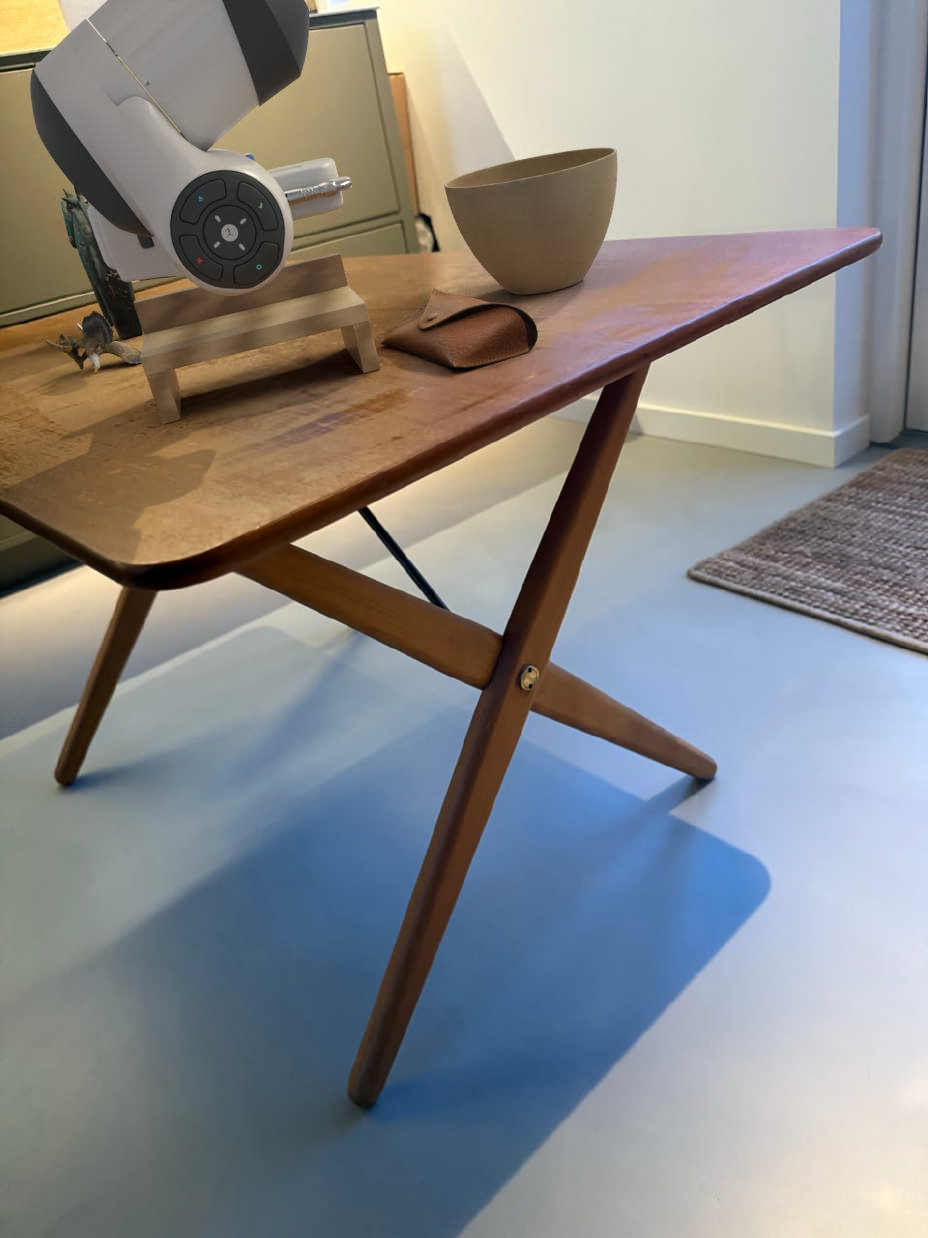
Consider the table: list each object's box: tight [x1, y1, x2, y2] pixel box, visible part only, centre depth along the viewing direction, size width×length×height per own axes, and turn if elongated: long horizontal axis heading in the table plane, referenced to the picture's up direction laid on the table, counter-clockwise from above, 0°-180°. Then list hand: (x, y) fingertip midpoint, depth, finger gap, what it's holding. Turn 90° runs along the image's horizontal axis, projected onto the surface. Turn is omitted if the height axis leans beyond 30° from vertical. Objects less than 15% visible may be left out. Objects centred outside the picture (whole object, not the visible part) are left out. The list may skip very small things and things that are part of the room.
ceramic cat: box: [60, 186, 144, 340], centre depth 132 cm, size 20×6×20 cm, turn 23°
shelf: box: [134, 252, 381, 425], centre depth 92 cm, size 20×12×9 cm, turn 104°
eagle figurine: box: [44, 310, 142, 374], centre depth 114 cm, size 8×7×9 cm
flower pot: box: [443, 147, 618, 296], centre depth 106 cm, size 18×18×12 cm
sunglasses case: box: [379, 288, 539, 369], centre depth 92 cm, size 18×7×7 cm
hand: (216, 202), depth 86 cm, fingers closed on medicine box, 8 cm apart
